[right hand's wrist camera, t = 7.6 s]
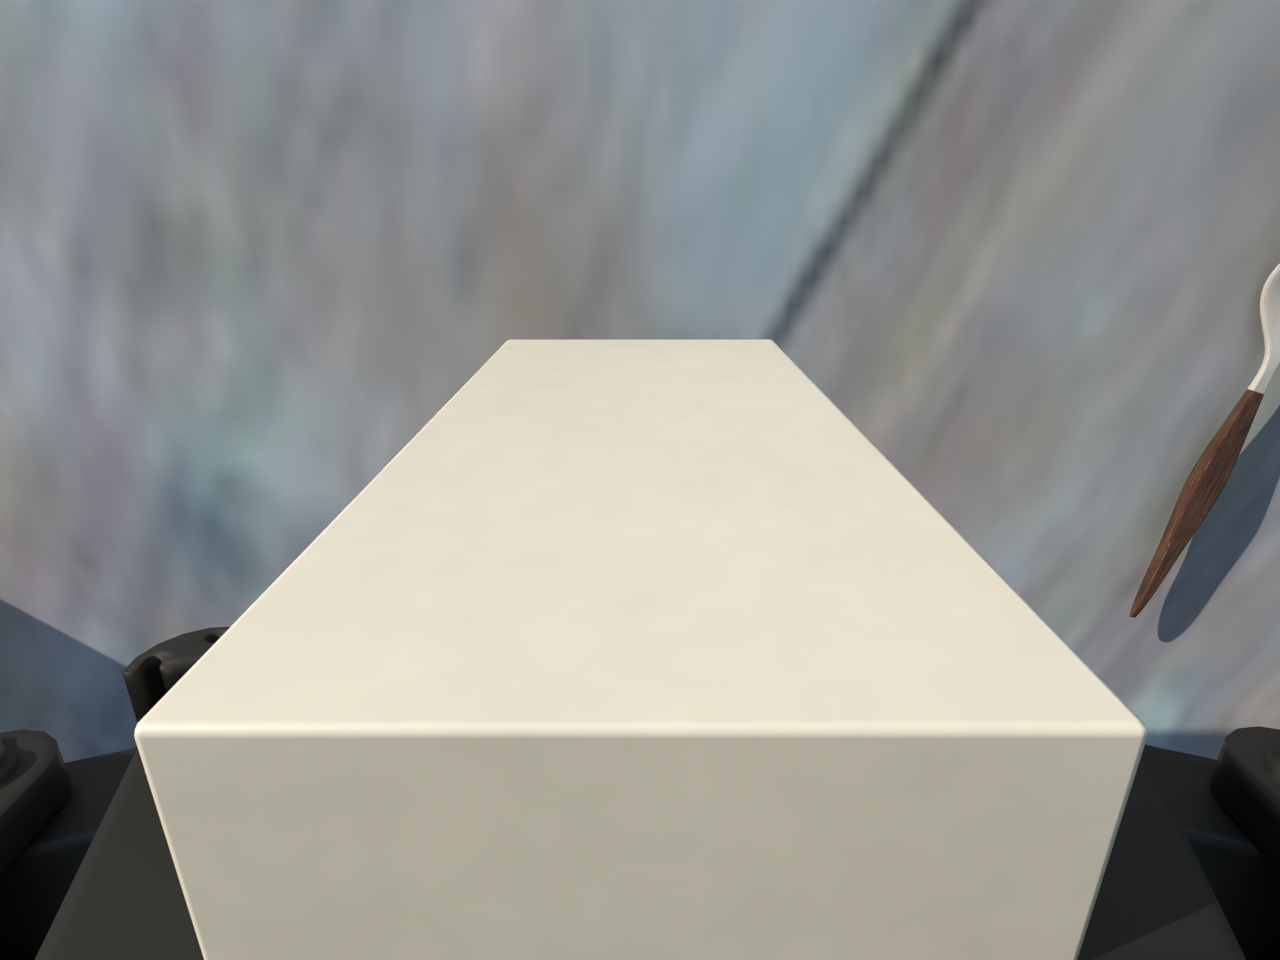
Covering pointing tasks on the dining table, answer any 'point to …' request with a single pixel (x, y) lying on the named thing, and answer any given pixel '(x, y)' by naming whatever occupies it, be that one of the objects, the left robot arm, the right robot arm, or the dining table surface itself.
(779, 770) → the box
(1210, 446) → the fork
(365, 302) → the dining table surface
